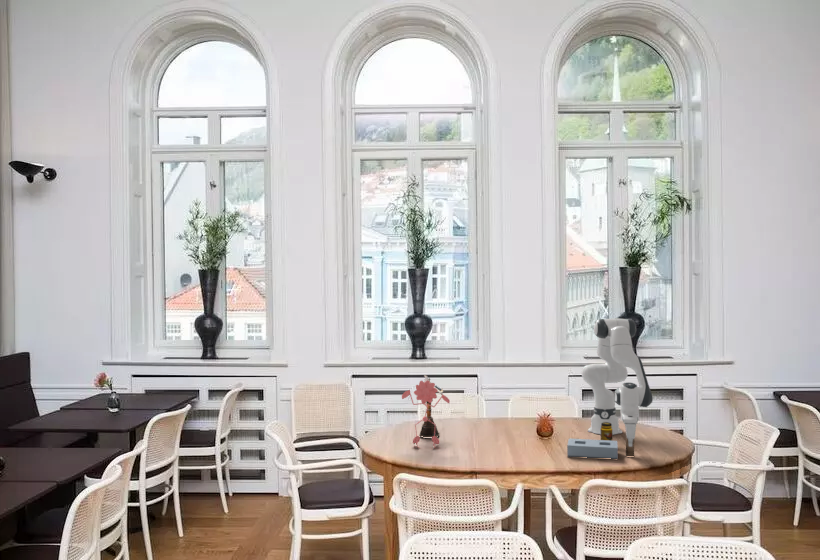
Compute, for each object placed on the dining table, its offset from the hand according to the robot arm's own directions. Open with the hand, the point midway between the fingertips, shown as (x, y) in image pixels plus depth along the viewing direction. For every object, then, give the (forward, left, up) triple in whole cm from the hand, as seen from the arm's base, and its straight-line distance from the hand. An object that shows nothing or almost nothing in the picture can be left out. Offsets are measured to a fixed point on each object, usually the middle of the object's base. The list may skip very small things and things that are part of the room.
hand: (630, 443), depth 352 cm
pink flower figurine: (0, -104, -6) cm, 104 cm away
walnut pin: (0, 0, -6) cm, 6 cm away
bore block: (+1, -18, -6) cm, 19 cm away
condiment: (-19, -12, -7) cm, 23 cm away
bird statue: (-20, -105, -6) cm, 107 cm away
